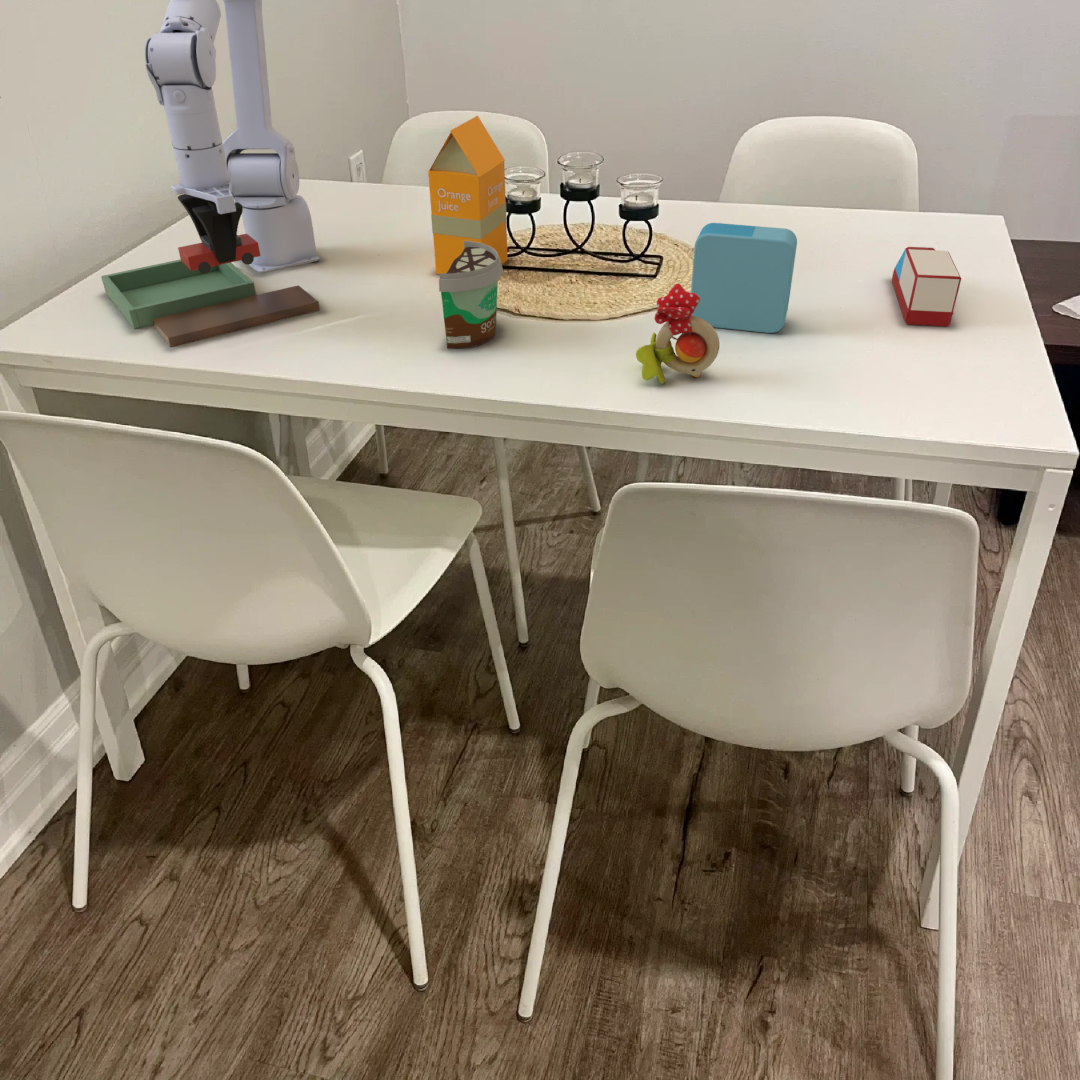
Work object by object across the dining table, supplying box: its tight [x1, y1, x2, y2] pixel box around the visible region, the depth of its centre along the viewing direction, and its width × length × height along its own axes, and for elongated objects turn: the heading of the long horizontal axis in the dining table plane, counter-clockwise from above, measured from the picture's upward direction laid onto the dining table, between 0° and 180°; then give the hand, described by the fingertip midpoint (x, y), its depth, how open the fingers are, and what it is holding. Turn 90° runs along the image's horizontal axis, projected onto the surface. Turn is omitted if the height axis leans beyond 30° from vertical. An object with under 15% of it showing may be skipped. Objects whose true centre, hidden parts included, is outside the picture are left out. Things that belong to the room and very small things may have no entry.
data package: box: [690, 222, 798, 334], centre depth 125 cm, size 12×4×12 cm, turn 73°
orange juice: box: [427, 115, 509, 275], centre depth 140 cm, size 8×9×20 cm
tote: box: [100, 259, 257, 330], centre depth 137 cm, size 17×15×3 cm
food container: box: [438, 241, 504, 350], centre depth 124 cm, size 12×6×10 cm, turn 168°
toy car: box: [177, 233, 260, 274], centre depth 126 cm, size 9×4×3 cm, turn 123°
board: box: [153, 284, 321, 348], centre depth 131 cm, size 20×7×2 cm, turn 123°
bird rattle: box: [635, 283, 721, 385], centre depth 114 cm, size 6×11×9 cm
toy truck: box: [891, 246, 962, 328], centre depth 131 cm, size 6×15×7 cm, turn 171°
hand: (220, 255), depth 127 cm, fingers closed on toy car, 4 cm apart
